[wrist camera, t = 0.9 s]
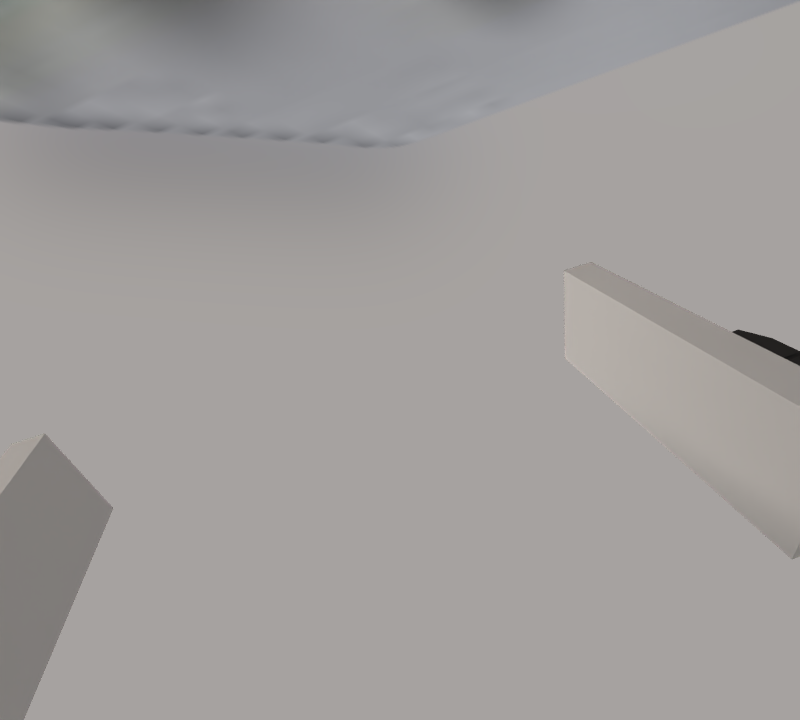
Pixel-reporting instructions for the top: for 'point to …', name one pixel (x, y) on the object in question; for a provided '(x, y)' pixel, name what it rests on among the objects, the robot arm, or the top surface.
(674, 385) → the robot arm
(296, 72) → the top surface
